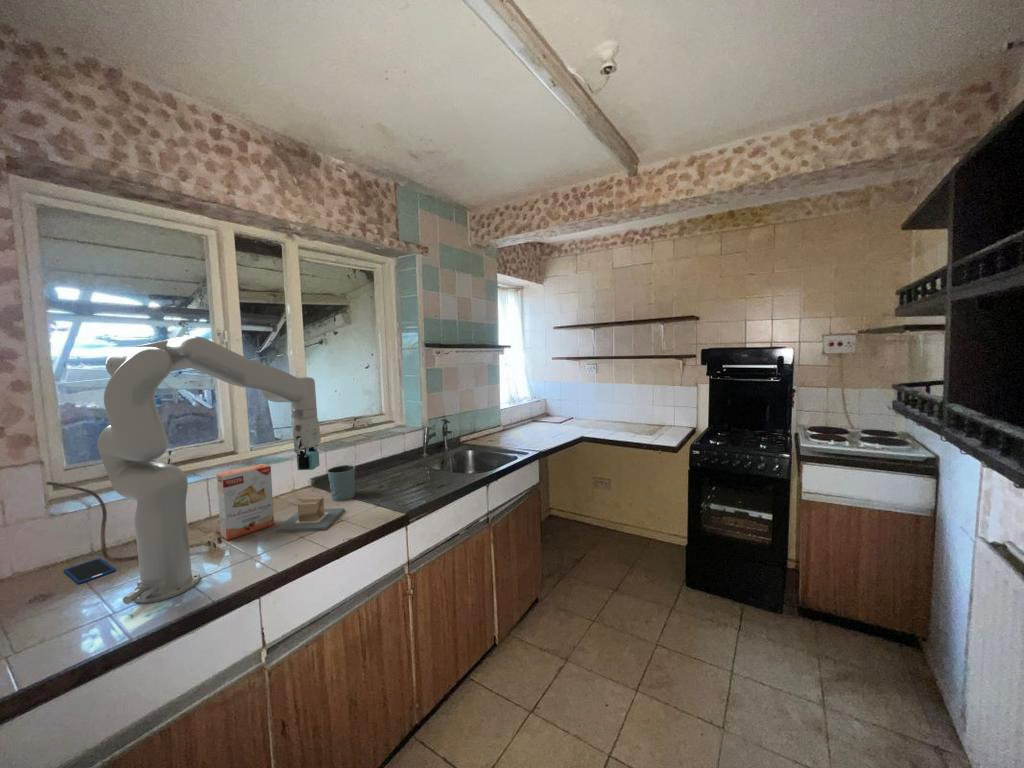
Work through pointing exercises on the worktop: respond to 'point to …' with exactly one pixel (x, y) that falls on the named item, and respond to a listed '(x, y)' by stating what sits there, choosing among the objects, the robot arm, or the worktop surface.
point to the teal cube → (311, 460)
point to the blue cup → (342, 482)
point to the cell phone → (89, 571)
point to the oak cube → (311, 509)
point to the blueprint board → (311, 522)
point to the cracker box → (245, 500)
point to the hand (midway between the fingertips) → (308, 465)
